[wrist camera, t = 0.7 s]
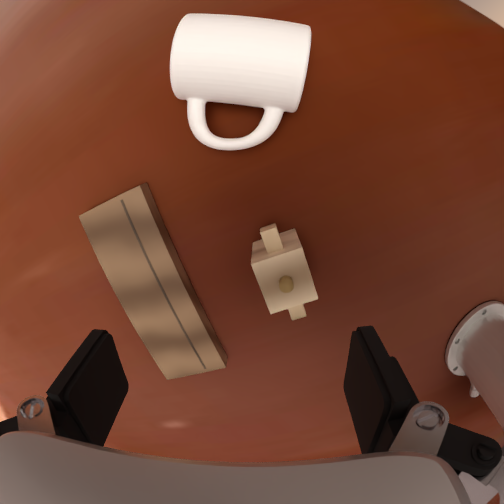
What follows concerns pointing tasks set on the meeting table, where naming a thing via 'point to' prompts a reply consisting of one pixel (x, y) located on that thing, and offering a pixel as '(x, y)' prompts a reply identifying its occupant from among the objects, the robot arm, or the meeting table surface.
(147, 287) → the board
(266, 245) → the beige block with peg
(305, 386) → the meeting table surface
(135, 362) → the meeting table surface
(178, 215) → the meeting table surface
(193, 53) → the mug
